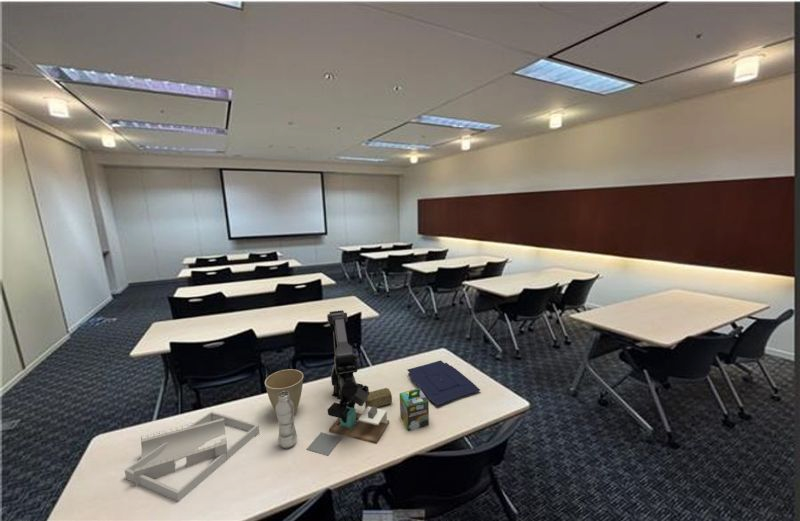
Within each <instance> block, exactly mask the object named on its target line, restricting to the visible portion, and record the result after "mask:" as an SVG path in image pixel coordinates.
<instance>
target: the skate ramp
mask: <svg viewBox="0 0 800 521" xmlns="http://www.w3.org/2000/svg"><path fill="white" fill-rule="evenodd" d="M218 417H219V416H218ZM223 417H224V416H223ZM214 418H215V417H214ZM219 418H220V417H219ZM210 419H211V418H210ZM206 420H207V419H206ZM202 421H203V420H202ZM208 421H209V420H208ZM204 422H205V421H204ZM200 423H201V422H200ZM192 424H193V426H191V425H190V426H191V427H189V424H186V425H185V424H184V425H180V426H177V427H174V428H172V429H170V431H169V432H168V431H167V432H163V431H162V430H161V431H159V432H158V431H156V432H155V433H152V432H151V434H146V435H142V436H140V446H141V448H140V449H141V451H140V452H141V453H140V454H141V455H140V457H141V458H140V459H142V458H143V457H145V456H146V455H147V454H149V453H150V452H152V451H153V450H155V449H156V448H158V447H159V446H161V445H162V444H164V443H167V442H168V445H167V446H166V448H165V449H164V450H163V452H162V453H161V454H159V455H158V456H157V457H155V458H154V459H153V460H151V461H150V462H148V463H147V464H145V465H143V466H142V467H139V468H136V469H135V467H134V468H133V470H134V480H135V482H134V487H136V485H137V486H139V476H140V475H145V476H147V477H149V478H152V479H154V480H156V479H160V478H161V477H165V476H167V475H169V474H173V473H175V470H176V464H177V462H179V461H181V460H183V459H186V460H185V461H186V468H188V467H192V466H195V465H197V464H199V463H203V462H205V461H208V460H211V459H214V458H215V459H216V458H217V457H219V456H220V455H222V454H224V453H225V455H226V458H227V449H228V446H227V445H228V443H227V437H224V438H221V439H220V441H219V442H214V444H212V445H208V446H204V445H205V444H207V443H208V442H210V441H212V440H215V439H217V438H220V437H222V436H224V435H226V425H225V422H224V418H221V419H217V420H214V421H210V422H206V423H202V424H198V425H195V426H194V423H192ZM196 424H197V423H196ZM152 434H153V436H152ZM143 437H144V438H143ZM206 442H207V443H206ZM203 446H204V447H203ZM199 447H200V448H199Z"/></svg>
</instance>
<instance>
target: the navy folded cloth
mask: <svg viewBox="0 0 800 521" xmlns="http://www.w3.org/2000/svg"><path fill="white" fill-rule="evenodd" d="M406 370H407V372H408V373H407V374H408V376H409V378H410V379H411V380H412V381H413V382H414V383H415V384H416V385H417V386H418V388H420V389H421V391H422V392H423V393H424V395H425V396H426V397H427V399H428V400H429V401H431V402H433V404H434V405H435V406H439V405H442V404H444V403H447V402H449V401H452V400H454V399H457V398H460V397H463V396H466V395H469V394H472V393H475V392H479V391H481V389H480V388H479V387H478V386H477V385H476V384H475V383H474V382H473V381H471V380H470V379H469V378H468V377H466V376H465V375H463V373H462V372H460V371H459V370H458V369H457V368H455V367H454V366H453V365H450V364H449V363H448V362H444V361H442V359H440V360H437V361H433V362H431V363H427V364H423V365H419V366H415V367H411V368H408V369H406Z"/></svg>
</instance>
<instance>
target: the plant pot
mask: <svg viewBox="0 0 800 521" xmlns="http://www.w3.org/2000/svg"><path fill="white" fill-rule="evenodd" d="M303 384H304V373H303V372H302V371H300V370H298V369H292V368H291V369H289V368H288V369H282V370H279V371H276V372H274V373H272V374H270V375H268V377H266V379H265V381H264V386H265V389H266V393H267V396H268V399H269V401H270V404H271V406H272V409H273V410H274V412H275V413H276V405H277V404H278V402H279V400H278V398H279V397H278V395H279V393H281V392H283V391H288V392H289V396H290V398H289V399H290V400H291V401H292V402H293V403H294V416H295V415H296V413H297V411H298V408H299V404H300V401H301V396H302V392H303Z"/></svg>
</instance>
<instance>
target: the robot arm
mask: <svg viewBox="0 0 800 521" xmlns="http://www.w3.org/2000/svg"><path fill="white" fill-rule="evenodd" d="M326 318H327V319H326V320H327V323H328V324H329V327H330V329H331V330H332V332H333V333H332V334H333V335H332V336H333V348H334V356H333V357H334V358H333V359H334V364H333V366H332V371H331V372H330V380H331V381H330V382H331V386H333V393H332V394H331V396H332V397H333V398H336V399H337V400H339V401H338V402H333V403H331V405H330V406H329V407H328V408H327V410H326V411H327V416H330V417H334V418H336V419H338V418H341V419H342V421H343V422H344V423H346V422H347V412H348V411H349V410H350V409H349V408H347V407H350V408H355V406H356V405H357V406H359V407H363V406H364V405H365V402H366V400H367V397H368V396H369V392H370V389H369V386H368V385H363V384H362V383H357V381H356V378H355V376H354V373H357V372H358V369H359V363H358V359H357V358H358V357H357V355H356V353H355V352H354V351H353V346H351V345H350V343H349V342H348V335H347V329H346V325H347V322H348V320H349V319H348V312H345V311H344V310H334V311H329V313H327V315H326Z"/></svg>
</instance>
